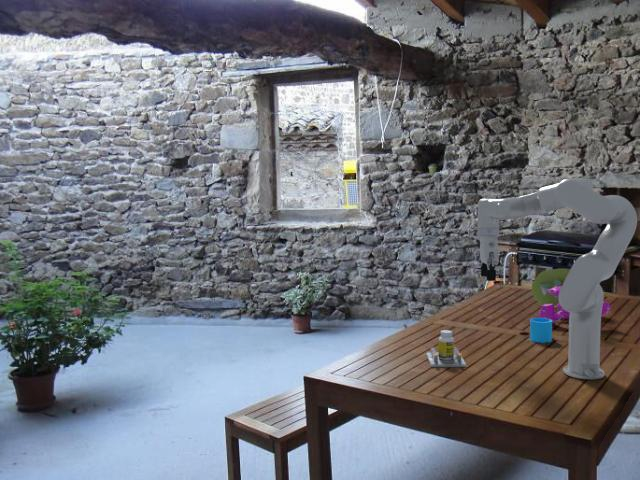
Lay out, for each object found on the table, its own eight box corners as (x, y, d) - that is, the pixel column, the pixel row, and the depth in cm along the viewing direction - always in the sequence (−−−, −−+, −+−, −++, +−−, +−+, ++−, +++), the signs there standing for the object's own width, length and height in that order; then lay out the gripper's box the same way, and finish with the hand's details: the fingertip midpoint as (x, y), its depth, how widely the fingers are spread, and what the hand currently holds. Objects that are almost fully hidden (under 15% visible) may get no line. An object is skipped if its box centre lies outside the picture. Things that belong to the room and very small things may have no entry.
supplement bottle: (447, 361, 212) (447, 334, 211) (435, 357, 216) (435, 331, 215) (457, 358, 215) (456, 331, 214) (445, 354, 219) (445, 328, 218)
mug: (548, 344, 234) (548, 323, 233) (527, 340, 239) (527, 320, 238) (557, 337, 243) (557, 317, 242) (537, 334, 248) (537, 315, 247)
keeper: (466, 366, 208) (466, 355, 208) (431, 367, 209) (431, 355, 208) (458, 354, 222) (459, 344, 222) (426, 355, 223) (426, 344, 222)
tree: (591, 250, 277) (603, 273, 244) (605, 307, 281) (619, 336, 249) (524, 265, 287) (527, 289, 255) (539, 319, 292) (544, 349, 259)
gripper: (504, 234, 210) (504, 282, 212) (493, 230, 227) (493, 274, 229) (483, 234, 210) (482, 282, 212) (473, 230, 228) (473, 274, 229)
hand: (488, 278), depth 221 cm, fingers open, 9 cm apart
